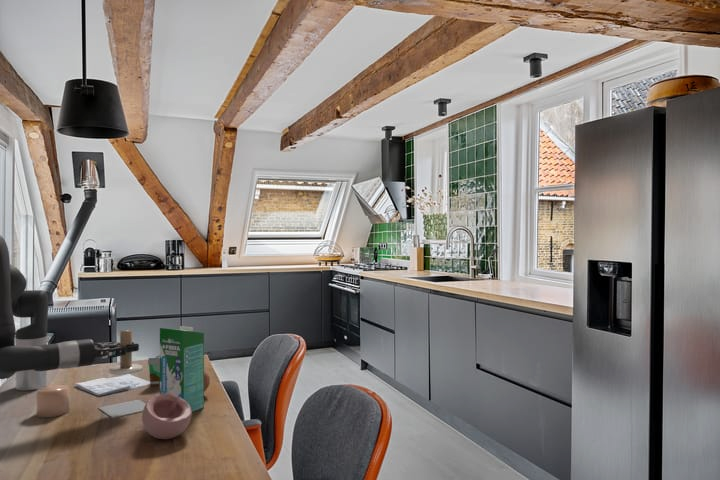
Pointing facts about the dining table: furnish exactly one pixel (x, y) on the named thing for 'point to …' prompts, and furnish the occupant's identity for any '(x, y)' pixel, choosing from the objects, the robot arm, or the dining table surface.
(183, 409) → the pink rounded bowl
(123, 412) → the mat
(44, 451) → the dining table surface
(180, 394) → the milk carton
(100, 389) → the folded bicycle print towel
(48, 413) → the canister
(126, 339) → the beige piece
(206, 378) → the onion
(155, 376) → the food container
